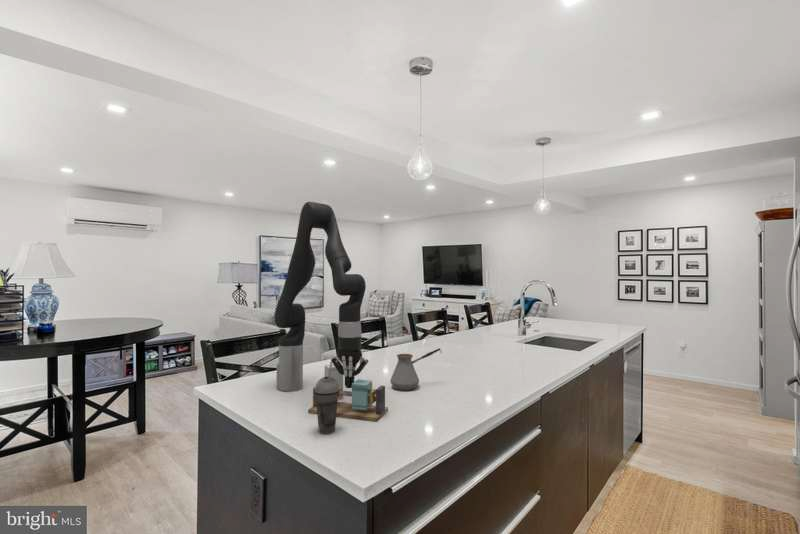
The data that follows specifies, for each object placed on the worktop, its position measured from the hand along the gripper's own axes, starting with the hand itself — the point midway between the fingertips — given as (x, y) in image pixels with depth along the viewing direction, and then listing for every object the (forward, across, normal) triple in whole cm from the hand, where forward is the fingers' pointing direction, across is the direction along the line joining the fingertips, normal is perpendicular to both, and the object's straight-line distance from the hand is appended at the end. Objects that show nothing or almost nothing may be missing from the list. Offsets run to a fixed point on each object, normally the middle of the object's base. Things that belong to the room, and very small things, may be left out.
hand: (349, 387), depth 128 cm
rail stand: (+8, 0, 0) cm, 8 cm away
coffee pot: (+8, +13, +34) cm, 38 cm away
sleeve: (+6, +4, 0) cm, 7 cm away
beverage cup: (+8, 0, -16) cm, 18 cm away
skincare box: (+8, -12, +11) cm, 18 cm away
